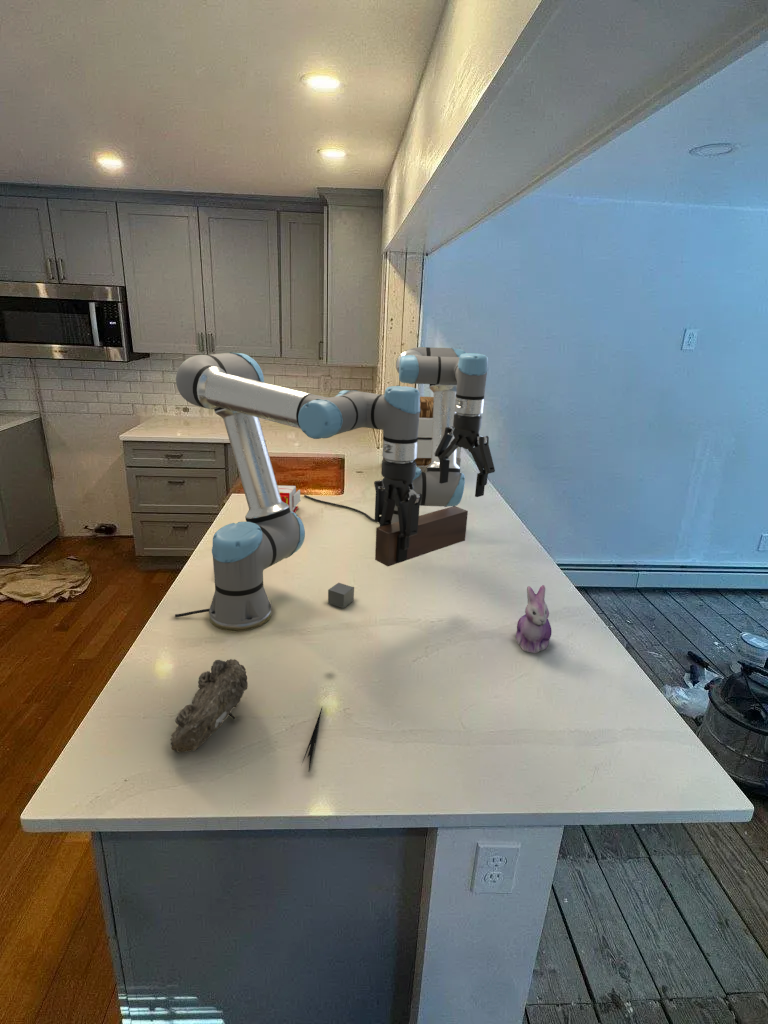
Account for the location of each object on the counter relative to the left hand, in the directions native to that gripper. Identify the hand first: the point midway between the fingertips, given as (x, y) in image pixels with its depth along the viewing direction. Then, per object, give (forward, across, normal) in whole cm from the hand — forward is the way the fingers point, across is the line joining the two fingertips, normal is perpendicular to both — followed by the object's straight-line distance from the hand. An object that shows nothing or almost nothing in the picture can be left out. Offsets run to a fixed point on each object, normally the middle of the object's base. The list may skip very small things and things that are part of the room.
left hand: (393, 557), depth 131 cm
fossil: (+21, +2, -46) cm, 50 cm away
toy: (+21, -84, +20) cm, 89 cm away
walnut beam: (0, 0, +9) cm, 9 cm away
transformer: (+21, -100, +106) cm, 147 cm away
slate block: (+21, -20, 0) cm, 29 cm away
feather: (+21, +15, -31) cm, 40 cm away
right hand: (-7, -12, +35) cm, 38 cm away
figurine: (+21, +24, +25) cm, 40 cm away
